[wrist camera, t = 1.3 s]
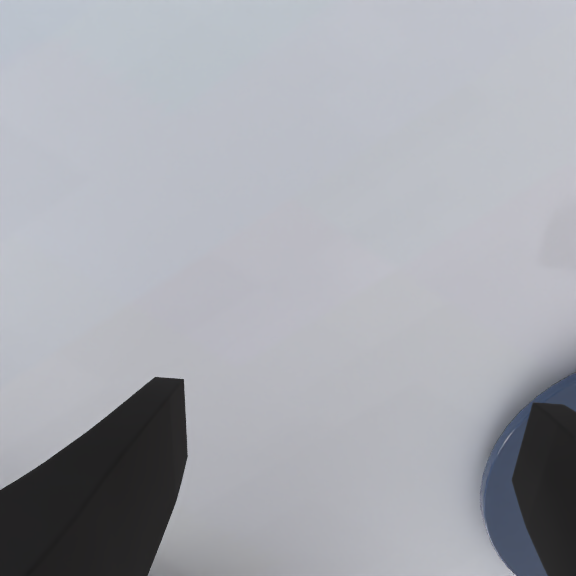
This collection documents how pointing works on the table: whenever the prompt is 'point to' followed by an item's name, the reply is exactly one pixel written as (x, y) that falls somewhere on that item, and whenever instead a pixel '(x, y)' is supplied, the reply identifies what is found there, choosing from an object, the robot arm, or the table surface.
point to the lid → (500, 492)
